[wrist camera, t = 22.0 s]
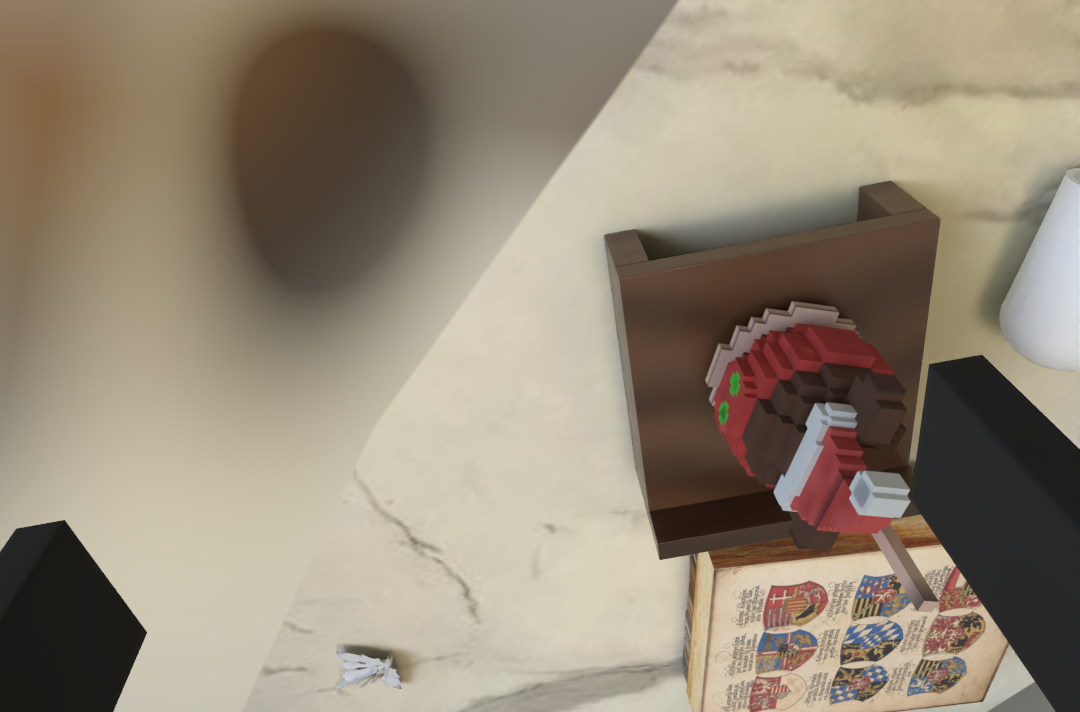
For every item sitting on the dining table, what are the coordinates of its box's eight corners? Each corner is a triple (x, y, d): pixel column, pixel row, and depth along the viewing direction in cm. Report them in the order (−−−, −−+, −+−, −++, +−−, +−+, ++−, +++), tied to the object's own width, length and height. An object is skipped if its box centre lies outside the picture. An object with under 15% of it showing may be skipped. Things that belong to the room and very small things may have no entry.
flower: (370, 691, 73) (363, 720, 71) (305, 655, 69) (296, 684, 67) (425, 669, 69) (420, 698, 67) (361, 630, 66) (353, 659, 64)
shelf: (603, 234, 47) (627, 305, 40) (891, 180, 47) (971, 241, 39) (635, 470, 58) (659, 560, 51) (869, 428, 57) (928, 513, 50)
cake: (818, 439, 50) (966, 689, 35) (683, 425, 48) (777, 679, 33) (887, 298, 44) (1099, 523, 29) (737, 277, 43) (879, 503, 28)
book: (1041, 444, 60) (694, 480, 59) (1097, 501, 55) (716, 541, 54) (964, 638, 74) (680, 670, 73) (1003, 699, 68) (698, 734, 67)
